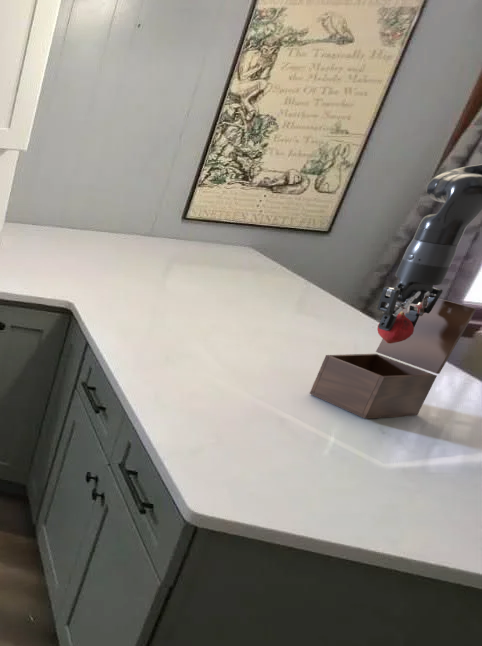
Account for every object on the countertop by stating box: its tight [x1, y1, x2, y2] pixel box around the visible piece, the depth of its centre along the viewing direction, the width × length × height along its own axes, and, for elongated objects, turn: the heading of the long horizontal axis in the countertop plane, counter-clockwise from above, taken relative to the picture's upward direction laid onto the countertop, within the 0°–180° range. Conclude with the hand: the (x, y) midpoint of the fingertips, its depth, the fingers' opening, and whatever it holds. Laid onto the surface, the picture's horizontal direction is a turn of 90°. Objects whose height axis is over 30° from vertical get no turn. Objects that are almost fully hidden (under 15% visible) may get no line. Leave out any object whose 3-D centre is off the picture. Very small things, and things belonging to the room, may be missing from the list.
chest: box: [309, 353, 438, 420], centre depth 153 cm, size 16×13×11 cm
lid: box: [375, 297, 477, 375], centre depth 150 cm, size 16×13×5 cm
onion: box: [377, 311, 414, 343], centre depth 148 cm, size 6×6×8 cm
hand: (395, 329), depth 149 cm, fingers closed on onion, 6 cm apart
